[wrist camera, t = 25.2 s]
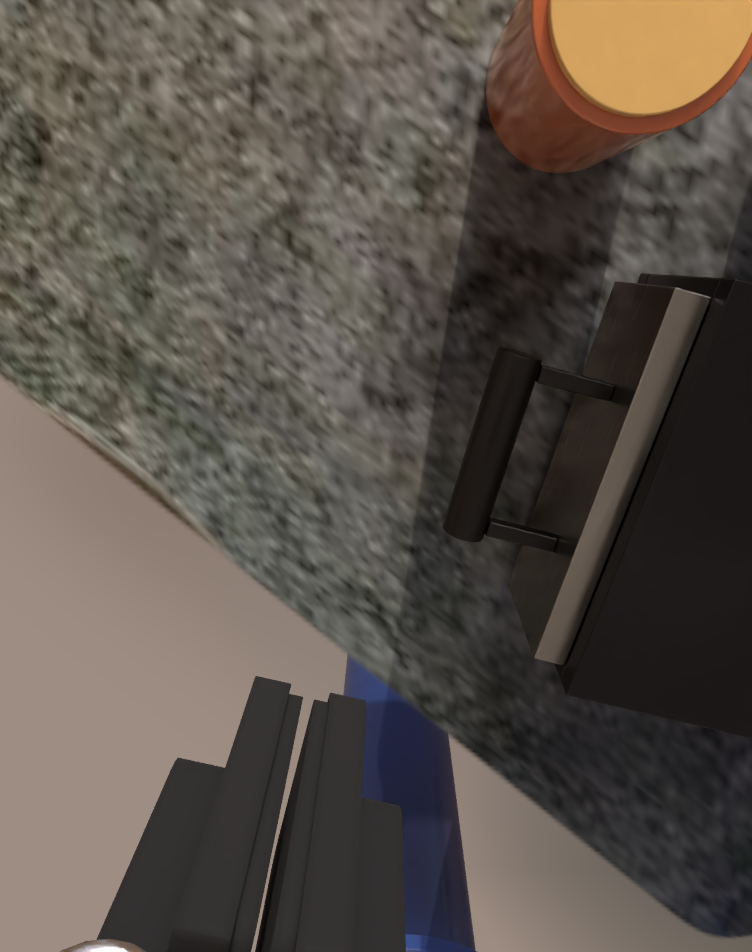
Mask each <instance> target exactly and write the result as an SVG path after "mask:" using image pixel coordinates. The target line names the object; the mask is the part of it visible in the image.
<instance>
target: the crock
mask: <svg viewBox="0 0 752 952" xmlns="http://www.w3.org/2000/svg"><path fill="white" fill-rule="evenodd" d="M751 58H752V0H518V2H517V4H516V6H515V8H514V10H513V12H512V14H511V16H510V18H509V20H508V22H507V24H506V26H505V28H504V30H503V32H502V34H501V36H500V38H499V40H498V42H497V44H496V46H495V49H494V51H493V53H492V56H491V59H490V62H489V67H488V72H487V79H486V101H487V109H488V113H489V117H490V120H491V123H492V125H493V128H494V130H495V132H496V134H497V136H498V137H499V139H500V141H501V142H502V143H503V145H504V146H505V147H506V149H507V150H508V151H509V152H510V153H511V154H512V155H513V156H514V157H516V158H517V159H518V160H520V161H521V162H523V163H524V164H526V165H528V166H530V167H532V168H535V169H538V170H540V171H545V172H550V173H570V172H575V171H580V170H583V169H586V168H588V167H591V166H593V165H595V164H598V163H600V162H602V161H604V160H606V159H609V158H611V157H613V156H615V155H617V154H620V153H622V152H624V151H626V150H628V149H630V148H633V147H635V146H637V145H639V144H641V143H644V142H646V141H648V140H650V139H652V138H655V137H657V136H659V135H661V134H663V133H665V132H668V131H670V130H672V129H674V128H676V127H679V126H681V125H683V124H685V123H687V122H689V121H691V120H692V119H694V118H696V117H698V116H699V115H701V114H702V113H704V112H705V111H706V110H708V109H709V108H711V107H712V106H713V105H714V104H715V103H716V102H717V101H719V100H720V99H721V98H722V97H723V96H724V95H725V94H726V93H727V92H728V90H729V89H730V88H731V87H732V86H733V85H734V84H735V82H736V81H737V80H738V78H739V77H740V76H741V74H742V73H743V71H744V70H745V68H746V67H747V65H748V63H749V61H750V60H751Z"/></svg>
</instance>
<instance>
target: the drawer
mask: <svg viewBox="0 0 752 952" xmlns="http://www.w3.org/2000/svg"><path fill="white" fill-rule="evenodd" d="M710 300H711V297H710V296H706V295H702V294H699V293H695V292H691V291H688V290H684V289H681V288H677V287H667V286H657V285H647V284H637V283H626V282H615V283H614V286H613V289H612V291H611V294H610V297H609V300H608V303H607V305H606V308H605V311H604V314H603V317H602V320H601V322H600V325H599V328H598V331H597V334H596V337H595V339H594V342H593V345H592V348H591V351H590V354H589V356H588V359H587V362H586V365H585V368H584V371H583V373H582V375H579V374H575V373H571V372H568V371H564V370H560V369H556V368H553V367H549V366H545V365H541V363H542V360H541V359H540V358H538V357H535V356H532V355H529V354H526V353H523V352H519V351H516V350H512V349H507V348H502V347H499V348H498V349H497V352H496V355H495V358H494V361H493V365H492V368H491V371H490V374H489V377H488V381H487V384H486V387H485V390H484V393H483V397H482V400H481V403H480V406H479V410H478V413H477V416H476V419H475V422H474V426H473V429H472V432H471V435H470V438H469V442H468V445H467V448H466V451H465V455H464V458H463V461H462V464H461V467H460V471H459V474H458V477H457V480H456V483H455V487H454V490H453V493H452V496H451V500H450V503H449V506H448V509H447V512H446V516H445V519H444V522H443V525H442V527H443V530H444V531H445V532H446V533H448V534H449V535H451V536H453V537H455V538H458V539H460V540H464V541H469V542H479V541H481V540H482V539H483V537H484V534H485V535H486V536H489V537H493V538H497V539H501V540H505V541H509V542H513V543H517V544H521V545H522V546H521V549H520V551H519V554H518V557H517V560H516V563H515V566H514V568H513V571H512V574H511V577H510V580H509V583H508V587H509V590H510V593H511V595H512V598H513V601H514V604H515V606H516V609H517V612H518V615H519V617H520V620H521V623H522V626H523V628H524V631H525V634H526V636H527V639H528V642H529V645H530V647H531V650H532V653H533V656H534V658H536V659H540V660H544V661H548V662H552V663H556V664H561V665H565V663H566V661H567V658H568V656H569V653H570V651H571V648H572V646H573V643H574V641H575V638H576V636H577V633H578V631H579V628H580V626H581V623H582V621H583V618H584V616H585V613H586V615H587V613H588V611H589V608H590V606H591V603H592V601H593V598H594V596H595V593H596V591H597V588H598V586H599V583H600V581H601V578H602V576H603V573H604V571H605V568H606V566H607V563H608V561H609V558H610V556H611V553H612V551H613V548H614V546H615V543H616V541H617V538H618V536H619V533H620V531H621V528H622V526H623V523H624V521H625V518H626V516H627V513H628V511H629V508H630V506H631V503H632V501H633V498H634V496H635V493H636V491H637V488H638V486H639V483H640V481H641V478H642V476H643V473H644V471H645V468H646V466H647V463H648V461H649V458H650V456H651V453H652V451H653V448H654V446H655V443H656V441H657V438H658V436H659V433H660V431H661V428H662V426H663V423H664V421H665V418H666V416H667V413H668V411H669V408H670V406H671V403H672V401H673V398H674V396H675V393H676V391H677V388H678V386H679V383H680V381H681V378H682V376H683V373H684V371H685V368H686V366H687V363H688V361H689V358H690V356H691V353H692V351H693V348H694V346H695V343H696V341H697V338H698V336H699V333H700V331H701V328H702V325H701V322H702V320H703V317H704V315H705V312H706V310H707V307H708V305H709V302H710ZM535 381H536V382H537V383H540V384H544V385H548V386H552V387H555V388H559V389H563V390H567V391H571V392H574V393H575V396H574V399H573V402H572V404H571V407H570V410H569V413H568V416H567V419H566V421H565V424H564V427H563V430H562V433H561V436H560V438H559V441H558V444H557V447H556V450H555V453H554V455H553V458H552V461H551V464H550V467H549V469H548V472H547V475H546V478H545V481H544V484H543V486H542V489H541V492H540V495H539V498H538V501H537V503H536V506H535V509H534V512H533V515H532V518H531V520H530V523H529V526H528V527H527V526H523V525H519V524H515V523H511V522H507V521H503V520H499V519H495V518H491V517H490V516H491V513H492V510H493V507H494V504H495V501H496V498H497V495H498V492H499V489H500V486H501V483H502V480H503V477H504V474H505V471H506V468H507V465H508V462H509V459H510V456H511V453H512V450H513V447H514V444H515V441H516V438H517V435H518V432H519V429H520V426H521V423H522V420H523V417H524V414H525V411H526V408H527V405H528V402H529V399H530V396H531V393H532V390H533V387H534V384H535Z"/></svg>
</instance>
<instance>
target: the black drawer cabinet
mask: <svg viewBox="0 0 752 952" xmlns="http://www.w3.org/2000/svg"><path fill="white" fill-rule="evenodd" d="M637 284H647V285H657V286H667V287H677V288H681V289H684V290H688V291H691V292H695V293H699V294H702V295H706V296H710V297H711V300H710V302H709V305H708V307H707V310H706V312H705V315H704V317H703V320H702V322H701V325H702V328H701V331H700V333H699V336H698V338H697V341H696V343H695V346H694V348H693V351H692V353H691V356H690V358H689V361H688V363H687V366H686V368H685V371H684V373H683V376H682V378H681V381H680V383H679V386H678V388H677V391H676V393H675V396H674V398H673V401H672V403H671V406H670V408H669V411H668V413H667V416H666V418H665V421H664V423H663V426H662V428H661V431H660V433H659V436H658V438H657V441H656V443H655V446H654V448H653V451H652V453H651V456H650V458H649V461H648V463H647V466H646V468H645V471H644V473H643V476H642V478H641V481H640V483H639V486H638V488H637V491H636V493H635V496H634V498H633V501H632V503H631V506H630V508H629V511H628V513H627V516H626V518H625V521H624V523H623V526H622V528H621V531H620V533H619V536H618V538H617V541H616V543H615V546H614V548H613V551H612V553H611V556H610V558H609V561H608V563H607V566H606V568H605V571H604V573H603V576H602V578H601V581H600V583H599V586H598V588H597V591H596V593H595V596H594V598H593V601H592V603H591V606H590V608H589V611H588V613H587V615H586V613H585V616H584V618H583V621H582V623H581V626H580V628H579V631H578V633H577V636H576V638H575V641H574V643H573V646H572V648H571V651H570V653H569V656H568V658H567V661H566V663H565V665H561V664H556V663H554V664H555V667H556V669H557V672H558V674H559V677H560V679H561V683H562V685H563V687H564V690H565V692H566V694H567V695H569V696H573V697H578V698H582V699H586V700H590V701H595V702H599V703H603V704H607V705H612V706H616V707H620V708H624V709H629V710H633V711H637V712H641V713H646V714H650V715H654V716H658V717H663V718H667V719H671V720H675V721H680V722H684V723H688V724H692V725H697V726H701V727H705V728H709V729H713V730H718V731H722V732H726V733H730V734H735V735H739V736H743V737H747V738H752V283H749V282H746V281H742V280H739V279H730V278H710V277H693V276H675V275H658V274H643V273H642V274H641V275H640V278H639V280H638V283H637Z"/></svg>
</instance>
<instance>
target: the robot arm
mask: <svg viewBox="0 0 752 952" xmlns="http://www.w3.org/2000/svg"><path fill="white" fill-rule="evenodd" d="M290 687H291V684H289V683H285V682H281V681H276V680H271V679H267V678H262V677H258V676H256V677H255V679H254V682H253V685H252V689H251V692H250V695H249V698H248V701H247V704H246V707H245V710H244V713H243V716H242V719H241V722H240V725H239V728H238V731H237V734H236V737H235V740H234V743H233V746H232V749H231V752H230V755H229V758H228V761H227V764H226V767H225V768H223V767H218V766H214V765H209V764H205V763H200V762H195V761H191V760H186V759H182V758H177V760H176V761H175V763H174V765H173V767H172V769H171V771H170V773H169V775H168V778H167V780H166V782H165V785H164V787H163V789H162V791H161V794H160V796H159V799H158V801H157V803H156V805H155V807H154V810H153V812H152V814H151V817H150V819H149V821H148V823H147V826H146V828H145V831H144V833H143V835H142V837H141V840H140V842H139V844H138V846H137V849H136V851H135V853H134V855H133V858H132V860H131V862H130V865H129V867H128V869H127V871H126V874H125V876H124V878H123V881H122V883H121V885H120V888H119V890H118V892H117V894H116V897H115V899H114V901H113V903H112V906H111V908H110V910H109V912H108V915H107V917H106V919H105V922H104V924H103V926H102V928H101V931H100V933H99V935H98V938H97V940H93V941H85V942H83V943H80V944H77V945H75V946H72V947H70V948H67V949H64V950H62V951H60V952H251V949H252V945H253V940H254V936H255V931H256V927H257V922H258V917H259V913H260V908H261V902H262V898H263V893H264V888H265V883H266V878H267V873H268V867H269V863H270V858H271V853H272V848H273V843H274V838H275V833H276V828H277V824H278V819H279V814H280V809H281V804H282V799H283V794H284V789H285V784H286V778H287V774H288V769H289V764H290V759H291V754H292V749H293V744H294V739H295V734H296V729H297V725H298V719H299V715H300V710H301V705H302V700H303V697H301V696H296V695H291V694H289V691H290ZM365 718H366V701H365V700H361V699H356V698H352V697H347V696H343V695H338V694H334V693H330V695H329V698H328V702H323V701H318V700H314V702H313V706H312V709H311V714H310V717H309V721H308V725H307V729H306V734H305V737H304V740H303V744H302V748H301V752H300V756H299V760H298V764H297V768H296V772H295V776H294V780H293V784H292V787H291V791H290V795H289V799H288V803H287V807H286V811H285V814H284V818H283V822H282V826H281V830H280V834H279V838H278V843H277V846H276V851H275V855H274V859H273V864H272V869H271V874H270V879H269V884H268V889H267V895H266V899H265V905H264V910H263V915H262V920H261V925H260V930H259V936H258V940H257V945H256V950H255V952H406V944H405V903H404V863H403V822H402V810H401V808H400V806H399V805H394V804H389V803H385V802H380V801H376V800H371V799H366V798H362V797H361V794H362V775H363V756H364V737H365Z"/></svg>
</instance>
